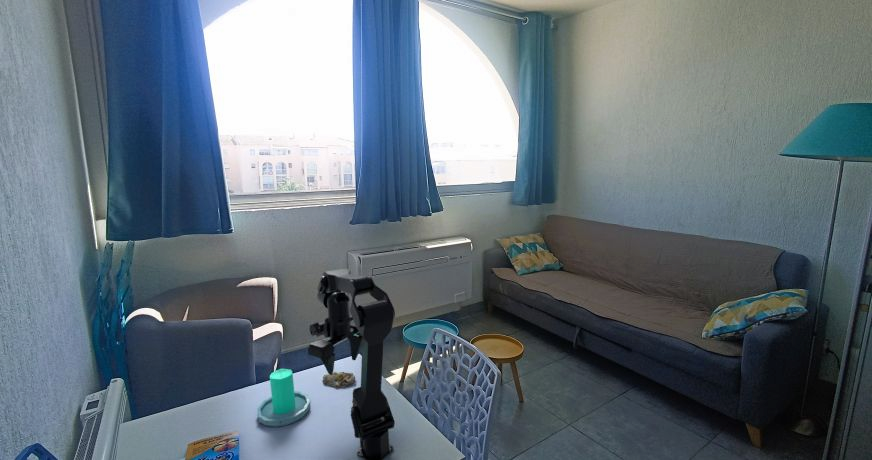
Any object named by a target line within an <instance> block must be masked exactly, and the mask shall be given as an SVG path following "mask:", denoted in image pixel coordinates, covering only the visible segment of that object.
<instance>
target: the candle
mask: <svg viewBox="0 0 872 460" xmlns="http://www.w3.org/2000/svg"><path fill="white" fill-rule="evenodd" d="M269 383H270V393H271V397H272V404H273V411H274V413H276V414H285V413H288V412H290V411H292V410H293V409H294V408H295V406H296V405H295V394H294V391H295V386H294V385H295V384H294V373H293V371H292V369H287V368H280V369H277V370H274V371H273V372H272V373H271V374H270V375H269Z"/></svg>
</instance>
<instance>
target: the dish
mask: <svg viewBox="0 0 872 460" xmlns="http://www.w3.org/2000/svg"><path fill="white" fill-rule="evenodd" d="M294 394H295V405H296V406H295V408H294V409H293V410H292V411H290V412H288V413H285V414H276V413H274V411H273V404H272V396H270V397H268V398H267V399H265V400H263V401H262V402H261V403H260V405H259V406H258V407H257V408H256V410H257V411H256V412H257V413H256V414H257V415H256V416H257V420H258V422H259V423H260V424H262V425H264V426H265V427H281V426H282V427H283V426H287V425H290V424H294V423H295V422H297V421H299V420H301V419H302V418H303V417H304V416H306V415H307V414H308V413H309V411H310V409H311V400H310V397H309V394H307V393H305V392H302V391H299V390H297V391H296V390H294Z"/></svg>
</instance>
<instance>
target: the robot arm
mask: <svg viewBox="0 0 872 460" xmlns="http://www.w3.org/2000/svg"><path fill="white" fill-rule="evenodd" d="M347 293H348V294H350V296H351V298H352V299H351V300H350V297H349V296H348V295H347ZM365 294H369V295H370V296H371V297H372V298H373V299H375V300H376V301H372V302H368V303H364V304H358V306H357V303H356V302H355V300H356V297H357V296H361V295H365ZM316 297H317V300H318V301H319V303H320V304H321V305H322V306H323V307H325V308H326V309H327V317H326V318H325V319H324V320H323V321H321V322H313V323H311V324H309V333H310V335H311V336H312V337H313V336H316V337H317V338H319V337H320V336H324V338H329V340H324V339H322V338H321V339H320V338H319V339H318V340H316V341H314V342H312V343H310V344H309V345H308V346H307V353H308V355H309V356H312V357H316V358H318V359H320V361H321V362H322V364H323V366H324V367H325V370H326V372H327V375H328V374H329V375H332V374H333V373H334V368H335V362H336V361H335V360H336V353H334V352H335V346H336V345H339V344H340V343H342V342H344V341H346V340H348V341H349V346H350V355H351V360H352V361H356V360H357V358H358V355H359V352H360V350H361V367H360V369H361V371H360V372H361V373H360V386H359V387H356V388H354V389H353V391H352V401H351V402H352V406H351V407H350V418H351V419H350V420H351V423H352V427H353V433H354V434H353V435H354V438H356V439H359V444H360V449H359V450H358V451H357V452H356V455H357V457H359V458H361V459H363V460H384V459H385V458H386V457H388V455H389V454H390V453H391V452H392V451H393V450H394V446H393V445H392V444H390V438H389V430H390V429H393V428H395V424H396V421H395V418H394V416H393V412H392V410H391V407H390V405H389V401H388V397H386V395H385V393H384V392H383V390H382V382H383V381H382V379H383V365H384V364H383V362H384V348H385V339H386V338H387V337H388V336H389V335H390V333H391V331H392V329H393V325H394V319H395V317H396V314H395V312H396V311H395V308H394V306H393V303H392V302H391V299H390V297H389V295H388V294H387V292H385V290H383V289H381V288H380V287H379V286H378V285H376V283H375V281H374V280H373V278H372V277H371V276H368V275H365V276H362V275H357V274H356V275H355V274H352V272H351V271H350V270H349V269H348V268H339V269H333V270H327V271H323V273H322V275H321V276H320V280H319V282H318V285H317V294H316ZM350 301H351V303H349V302H350Z"/></svg>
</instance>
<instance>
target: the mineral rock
mask: <svg viewBox="0 0 872 460" xmlns="http://www.w3.org/2000/svg"><path fill="white" fill-rule="evenodd" d="M355 380H356V376H355V375H354V373H353V372H345V371H342V372H341V371H340V372H337V371H333V374H332V375H329V374H328V373H327V374H324V375H323V376H322V382H323V383H324V385H326V386H332V387H334V388H336V389H340V388H347V386H349V385H352V384H353V383H354V382H355Z"/></svg>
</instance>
